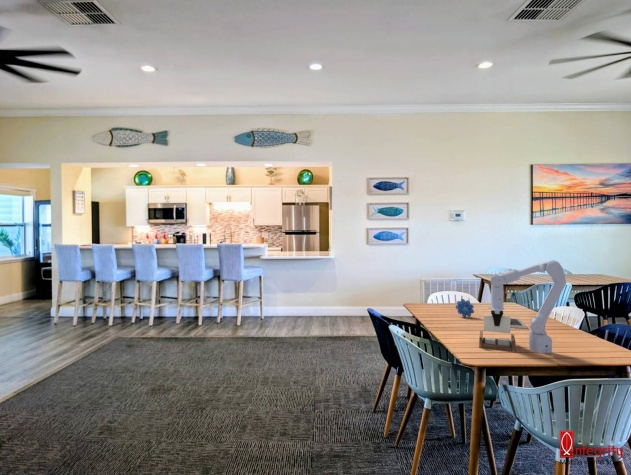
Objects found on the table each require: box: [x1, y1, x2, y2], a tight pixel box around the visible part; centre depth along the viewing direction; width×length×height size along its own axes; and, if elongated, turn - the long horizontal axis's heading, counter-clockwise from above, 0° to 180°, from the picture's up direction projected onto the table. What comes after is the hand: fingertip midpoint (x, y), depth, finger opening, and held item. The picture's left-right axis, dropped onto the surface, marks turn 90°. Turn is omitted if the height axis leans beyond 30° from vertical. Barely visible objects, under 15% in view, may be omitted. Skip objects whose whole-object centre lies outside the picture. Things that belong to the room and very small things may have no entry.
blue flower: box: [455, 298, 475, 318], centre depth 263 cm, size 12×7×12 cm, turn 78°
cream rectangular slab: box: [483, 314, 511, 334], centre depth 200 cm, size 2×12×8 cm, turn 66°
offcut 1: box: [484, 337, 496, 344], centre depth 194 cm, size 2×4×4 cm, turn 66°
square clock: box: [510, 317, 528, 330], centre depth 245 cm, size 16×3×21 cm
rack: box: [478, 330, 516, 353], centre depth 201 cm, size 24×16×6 cm, turn 156°
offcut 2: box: [497, 337, 511, 346], centre depth 192 cm, size 2×5×4 cm, turn 66°
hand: (496, 325), depth 200 cm, fingers closed on cream rectangular slab, 2 cm apart
